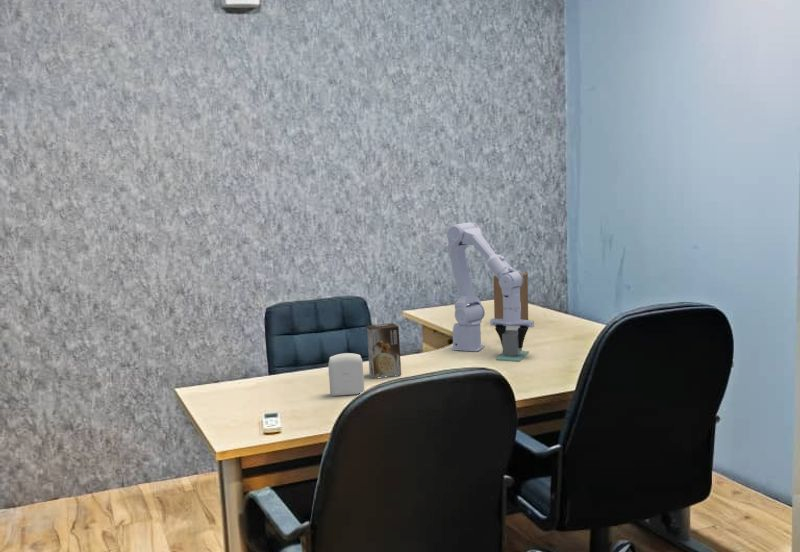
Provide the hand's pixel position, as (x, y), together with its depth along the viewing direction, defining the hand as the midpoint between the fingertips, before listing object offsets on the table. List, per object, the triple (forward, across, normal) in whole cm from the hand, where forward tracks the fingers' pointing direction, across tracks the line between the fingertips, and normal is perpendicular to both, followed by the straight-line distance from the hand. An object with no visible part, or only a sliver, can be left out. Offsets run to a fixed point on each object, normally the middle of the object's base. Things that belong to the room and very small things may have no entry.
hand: (512, 347), depth 316 cm
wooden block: (+3, -13, +46) cm, 48 cm away
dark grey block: (+2, 0, 0) cm, 2 cm away
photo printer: (+3, -36, -54) cm, 65 cm away
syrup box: (+3, -5, +19) cm, 20 cm away
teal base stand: (+3, 0, 0) cm, 3 cm away
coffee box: (+3, -33, -32) cm, 46 cm away
